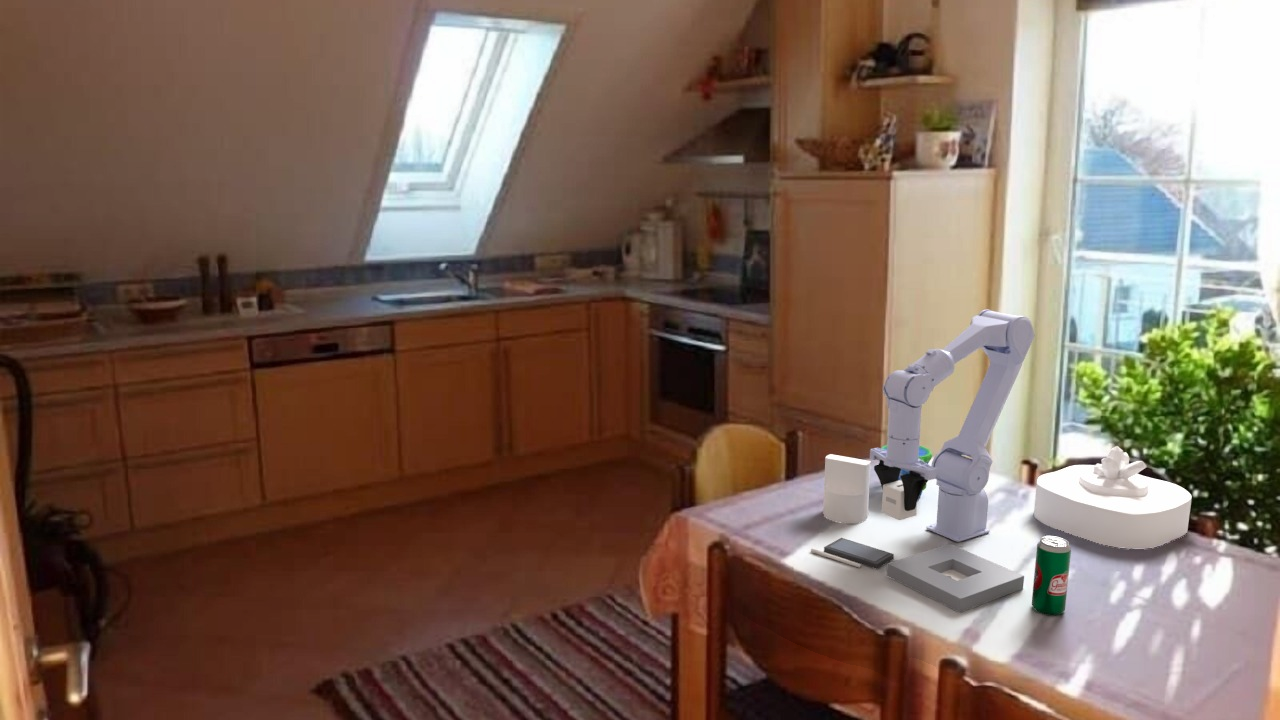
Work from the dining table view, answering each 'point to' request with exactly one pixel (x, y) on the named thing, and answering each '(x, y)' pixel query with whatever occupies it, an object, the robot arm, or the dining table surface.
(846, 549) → the tablet with stylus
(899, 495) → the brick
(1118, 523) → the tissue box
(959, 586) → the socket plate
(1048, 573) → the soda can
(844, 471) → the white rounded block
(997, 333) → the robot arm
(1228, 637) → the dining table surface
